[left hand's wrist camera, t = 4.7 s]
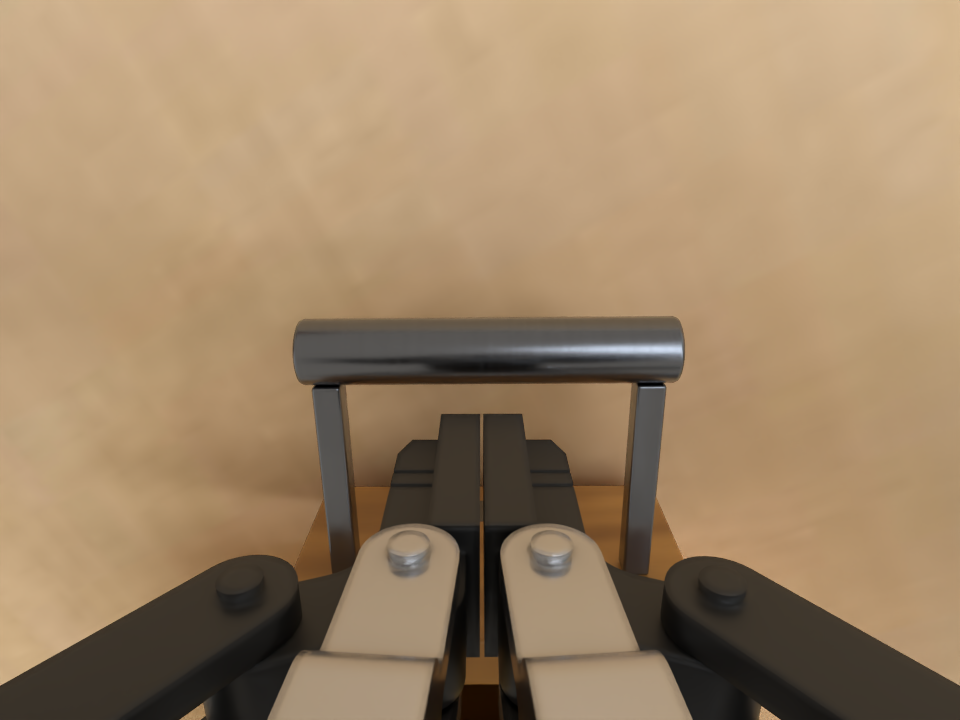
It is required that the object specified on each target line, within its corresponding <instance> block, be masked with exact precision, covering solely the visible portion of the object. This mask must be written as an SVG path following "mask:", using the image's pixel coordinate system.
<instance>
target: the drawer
mask: <svg viewBox="0 0 960 720" xmlns="http://www.w3.org/2000/svg"><path fill="white" fill-rule="evenodd" d="M684 360H685V340H684V333H683V329H682V326H681V323H680V321H679V319H678V318H676V317H673V316H637V317H507V318H378V319H303V320H301V321H299V323H298V324H297V326H296V330H295V333H294V339H293V364H294V369H295V373H296V376H297V379H298V381H299V382H300V383H301V384H303V385H314V386H313V388H312V396H313V405H314V414H315V424H316V433H317V442H318V451H319V460H320V469H321V478H322V487H323V496H324V499H323V501H322V504H321V506H320V508H319V511H318V513H317V515H316V518H315V520H314V522H313V525H312V527H311V529H310V532H309V534H308V536H307V539H306V541H305V543H304V546H303V548H302V550H301V553H300V555H299V558H298V560H297V562H296V565H295V567H294V569H295V570H296V573H297V576H298V582H299V581H304V580H308V579H313V578H317V577H321V576H326V575H330V574H333V573H337V572H339V571H342V570H345V569H347V568H349V567H351V566H353V565H354V563H355V560H356V558H357V555H358V552H359V550H360V548H361V546H362V545H363V544H364V543H365V541H366V540H367V539H369V538H370V537H371V536H372V535H374V534H376V533H377V532H379V531H380V527H381V522H382V518H383V514H384V510H385V506H386V502H387V497H388V493H389V489H390V487H355V485H354V474H353V463H352V452H351V441H350V430H349V418H348V407H347V396H346V385H408V384H566V383H632V388H631V401H630V414H629V427H628V440H627V454H626V467H625V480H624V486H573V487H574V489H575V493H576V497H577V501H578V505H579V509H580V513H581V517H582V521H583V525H584V529H585V533H586V535H588V536H589V537H590V538H591V539H593V540H594V541H595V543H596V544H597V545H598V546H599V548H600V550H601V552H602V555H603V558H604V560H605V561H606V562H607V563H609V564H610V565H612V566H614V567H616V568H618V569H621V570H623V571H626V572H629V573H632V574H636V575H640V576H644V577H649V578H653V579H658V580H662V581H664V580H665V576H666V573H667V571H668V570H669V568H670V567H671V566H673V565H674V564H675V563H677V562H679V561H681V560H683V557H682V555H681V553H680V550H679V548H678V546H677V544H676V541H675V539H674V537H673V535H672V532H671V530H670V528H669V525H668V523H667V521H666V519H665V516H664V514H663V512H662V510H661V507H660V505H659V503H658V501H657V498H656V490H657V480H658V469H659V459H660V449H661V438H662V428H663V417H664V407H665V397H666V385H665V384H664V383H674V382H676V381H678V380H679V378H680V376H681V374H682V370H683V366H684ZM461 699H462V702H461V715H460V720H500V715H499V702H498V699H499V668H498V657H484V549H483V486H480V657H466V679H465V684H464V687H463V689H462V691H461Z"/></svg>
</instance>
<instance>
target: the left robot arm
mask: <svg viewBox="0 0 960 720" xmlns="http://www.w3.org/2000/svg"><path fill="white" fill-rule="evenodd" d="M483 549H484V657H498V668H499V699H498V702H499V715H500V720H759V714H760V709H761V706H763V707H764V708H765V709H767V710H768V711H769V712H771V713H772V714H774V715H775V716H776V717H778V718H779V719H781V720H960V686H959V685H957V684H956V683H954V682H952V681H950V680H948V679H947V678H945V677H943V676H941V675H939V674H938V673H936V672H934V671H932V670H931V669H929V668H927V667H925V666H923V665H922V664H920V663H918V662H916V661H914V660H913V659H911V658H909V657H907V656H906V655H904V654H902V653H900V652H898V651H897V650H895V649H893V648H891V647H890V646H888V645H886V644H884V643H882V642H881V641H879V640H877V639H875V638H873V637H872V636H870V635H868V634H866V633H865V632H863V631H861V630H859V629H857V628H856V627H854V626H852V625H850V624H848V623H847V622H845V621H843V620H841V619H840V618H838V617H836V616H834V615H832V614H831V613H829V612H827V611H825V610H824V609H822V608H820V607H818V606H816V605H815V604H813V603H811V602H809V601H807V600H806V599H804V598H802V597H800V596H799V595H797V594H795V593H793V592H791V591H790V590H788V589H786V588H784V587H782V586H781V585H779V584H777V583H775V582H774V581H772V580H770V579H768V578H766V577H765V576H763V575H761V574H759V573H758V572H756V571H754V570H752V569H750V568H748V567H746V566H744V565H742V564H739V563H737V562H734V561H731V560H727V559H723V558H718V557H708V556H699V557H691V558H687V559H683V560H681V561H679V562H677V563H675V564H674V565H673V566H671V567H670V568H669V570H668V571H667V573H666V576H665V580H664V581H662V580H658V579H653V578H649V577H644V576H640V575H636V574H632V573H629V572H626V571H623V570H621V569H618V568H616V567H614V566H612V565H610V564H609V563H607V562H606V561H605V560H604V558H603V555H602V552H601V550H600V548H599V546H598V545H597V544H596V543H595V541H594V540H593V539H591V538H590V537H589V536H588V535H586V533H585V529H584V525H583V521H582V517H581V513H580V509H579V505H578V501H577V497H576V493H575V489H574V487H573V481H572V477H571V473H570V469H569V465H568V461H567V457H566V454H565V453H564V452H563V451H562V450H561V449H560V448H559V447H558V446H557V445H556V444H555V443H554V442H553V441H551V440H526V439H525V432H524V424H523V417H522V414H483ZM466 657H480V414H441V421H440V428H439V436H438V440H412V441H411V442H410V443H409V444H408V445H407V446H406V447H405V448H404V449H403V450H401V451H400V452H399V453H398V456H397V460H396V464H395V468H394V473H393V476H392V481H391V487H390V489H389V493H388V497H387V502H386V506H385V510H384V514H383V518H382V522H381V527H380V531H379V532H377V533H376V534H374V535H372V536H371V537H370V538H369V539H367V540H366V541H365V543H364V544H363V545H362V546H361V548H360V550H359V552H358V555H357V558H356V560H355V563H354V565H353V566H351V567H349V568H347V569H345V570H342V571H339V572H337V573H333V574H330V575H326V576H321V577H317V578H313V579H308V580H304V581H299V582H298V576H297V573H296V570H295V569H294V568H293V566H292V565H290V564H289V563H288V562H287V561H285V560H283V559H280V558H277V557H274V556H268V555H248V556H242V557H237V558H234V559H230V560H227V561H225V562H222V563H220V564H218V565H215V566H213V567H211V568H210V569H208V570H206V571H204V572H203V573H201V574H199V575H197V576H195V577H194V578H192V579H190V580H188V581H186V582H185V583H183V584H181V585H179V586H178V587H176V588H174V589H172V590H170V591H169V592H167V593H165V594H163V595H161V596H160V597H158V598H156V599H154V600H153V601H151V602H149V603H147V604H145V605H144V606H142V607H140V608H138V609H137V610H135V611H133V612H131V613H129V614H128V615H126V616H124V617H122V618H120V619H119V620H117V621H115V622H113V623H112V624H110V625H108V626H106V627H104V628H103V629H101V630H99V631H97V632H95V633H94V634H92V635H90V636H88V637H87V638H85V639H83V640H81V641H79V642H78V643H76V644H74V645H72V646H71V647H69V648H67V649H65V650H63V651H62V652H60V653H58V654H56V655H54V656H53V657H51V658H49V659H47V660H46V661H44V662H42V663H40V664H38V665H37V666H35V667H33V668H31V669H29V670H28V671H26V672H24V673H22V674H21V675H19V676H17V677H15V678H13V679H12V680H10V681H8V682H6V683H4V684H3V685H1V686H0V720H179V719H181V718H182V717H184V716H185V715H186V714H188V713H189V712H191V711H192V710H193V709H195V708H196V707H197V706H199V705H200V704H202V703H203V704H204V709H205V714H206V716H205V717H204V718H202V719H201V720H460V715H461V702H462V699H461V691H462V689H463V687H464V684H465V679H466Z"/></svg>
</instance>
